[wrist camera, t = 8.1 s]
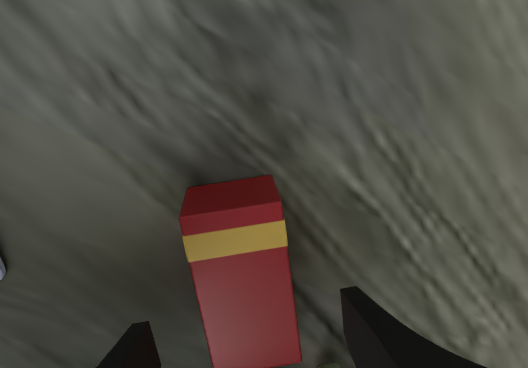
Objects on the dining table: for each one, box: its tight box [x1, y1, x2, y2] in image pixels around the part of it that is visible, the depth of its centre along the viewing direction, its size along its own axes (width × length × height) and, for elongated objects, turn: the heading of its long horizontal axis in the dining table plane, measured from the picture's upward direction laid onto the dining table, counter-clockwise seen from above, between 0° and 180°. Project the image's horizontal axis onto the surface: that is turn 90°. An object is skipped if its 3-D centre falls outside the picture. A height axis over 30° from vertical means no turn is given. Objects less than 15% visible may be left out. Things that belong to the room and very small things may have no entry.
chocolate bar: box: [179, 175, 302, 368], centre depth 18 cm, size 8×4×3 cm, turn 8°
